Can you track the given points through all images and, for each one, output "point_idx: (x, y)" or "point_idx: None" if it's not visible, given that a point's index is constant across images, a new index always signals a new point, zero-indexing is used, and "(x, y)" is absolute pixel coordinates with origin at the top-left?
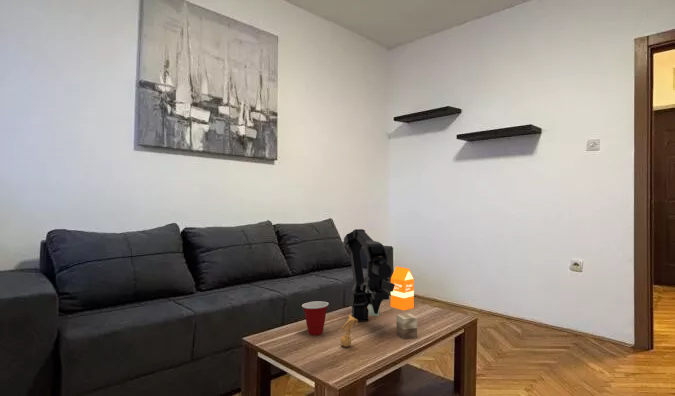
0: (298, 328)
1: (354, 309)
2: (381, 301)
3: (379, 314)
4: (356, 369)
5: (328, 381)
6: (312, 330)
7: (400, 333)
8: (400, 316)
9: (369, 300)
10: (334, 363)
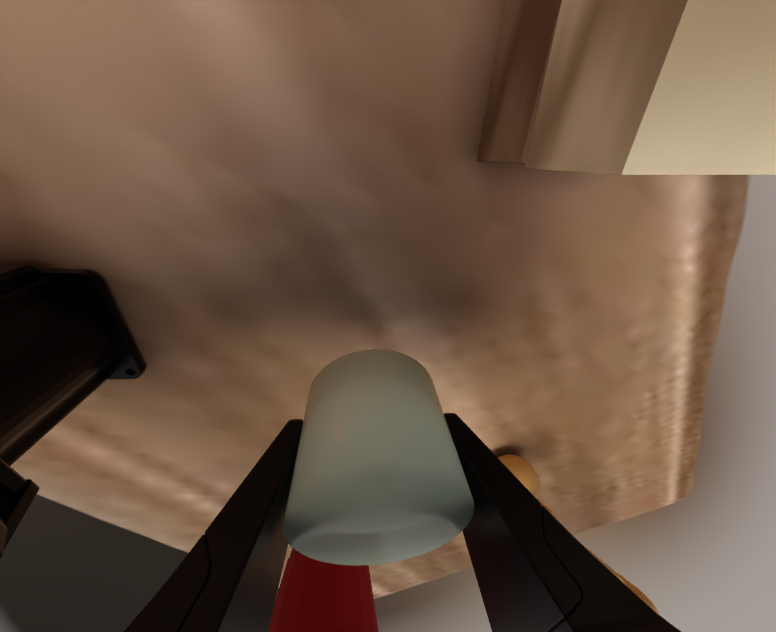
0: None
1: (31, 445)
2: (679, 630)
3: (410, 360)
4: (670, 457)
5: (662, 506)
6: None
7: None
8: (740, 153)
9: (262, 622)
10: (595, 492)
